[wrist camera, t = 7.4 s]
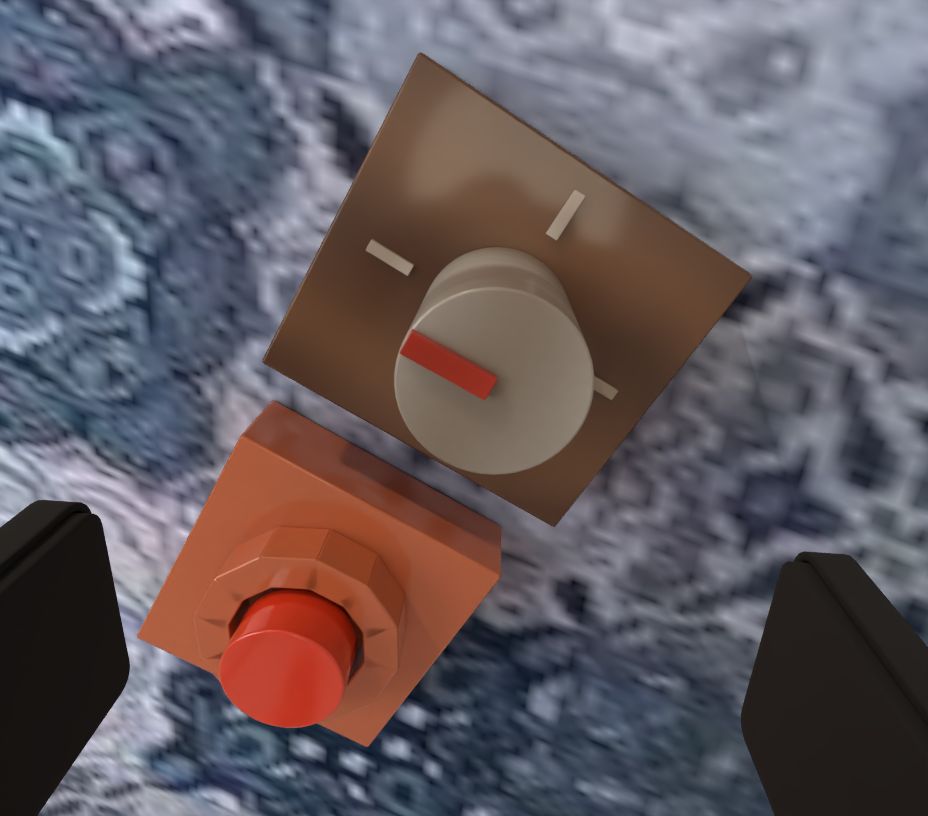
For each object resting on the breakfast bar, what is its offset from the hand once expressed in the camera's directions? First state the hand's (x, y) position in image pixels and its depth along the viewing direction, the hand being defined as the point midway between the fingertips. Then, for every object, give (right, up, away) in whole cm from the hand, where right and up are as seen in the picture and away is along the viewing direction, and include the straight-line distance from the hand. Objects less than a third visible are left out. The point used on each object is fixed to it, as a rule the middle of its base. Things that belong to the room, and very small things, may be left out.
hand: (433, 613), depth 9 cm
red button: (-5, -5, +13) cm, 15 cm away
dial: (+1, +5, +10) cm, 12 cm away
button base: (-5, -3, +18) cm, 18 cm away
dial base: (+2, +7, +13) cm, 15 cm away
